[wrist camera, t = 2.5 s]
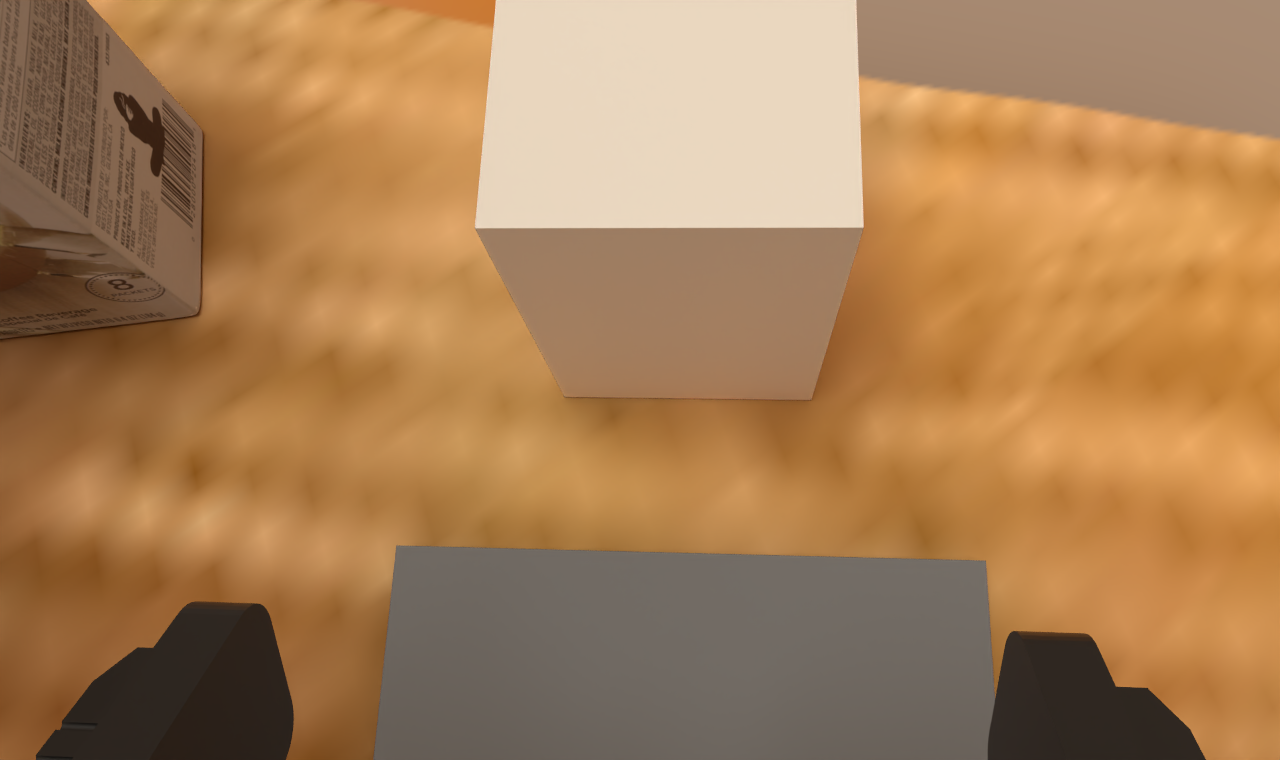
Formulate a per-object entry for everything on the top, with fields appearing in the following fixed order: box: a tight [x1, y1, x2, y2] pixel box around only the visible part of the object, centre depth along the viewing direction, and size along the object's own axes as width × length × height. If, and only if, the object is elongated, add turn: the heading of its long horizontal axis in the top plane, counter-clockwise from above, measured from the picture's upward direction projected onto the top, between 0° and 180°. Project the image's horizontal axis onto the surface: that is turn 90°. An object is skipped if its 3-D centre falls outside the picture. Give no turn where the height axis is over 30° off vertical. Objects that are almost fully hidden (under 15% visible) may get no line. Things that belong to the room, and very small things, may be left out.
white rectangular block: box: [475, 0, 864, 400], centre depth 22 cm, size 6×6×10 cm
